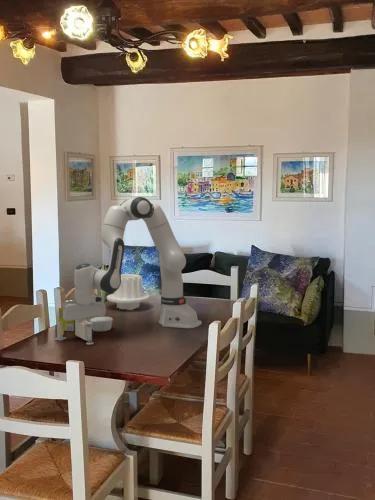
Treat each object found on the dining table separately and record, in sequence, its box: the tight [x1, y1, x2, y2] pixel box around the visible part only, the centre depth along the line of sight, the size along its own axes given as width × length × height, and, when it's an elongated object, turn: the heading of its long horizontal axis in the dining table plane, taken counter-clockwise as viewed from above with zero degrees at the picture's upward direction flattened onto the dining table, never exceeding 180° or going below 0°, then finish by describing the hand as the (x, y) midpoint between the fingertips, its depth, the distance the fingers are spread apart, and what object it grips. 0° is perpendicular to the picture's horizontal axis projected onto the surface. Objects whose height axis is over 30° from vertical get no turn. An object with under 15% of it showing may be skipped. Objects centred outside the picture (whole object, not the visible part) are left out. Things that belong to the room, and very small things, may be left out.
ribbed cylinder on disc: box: [106, 273, 151, 311], centre depth 320 cm, size 25×25×19 cm
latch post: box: [53, 321, 67, 341], centre depth 255 cm, size 5×4×8 cm
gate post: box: [85, 325, 94, 346], centre depth 248 cm, size 3×3×8 cm
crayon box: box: [58, 307, 75, 332], centre depth 270 cm, size 7×3×12 cm, turn 86°
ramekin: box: [90, 316, 114, 332], centre depth 273 cm, size 11×11×5 cm
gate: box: [74, 320, 93, 342], centre depth 252 cm, size 16×3×9 cm, turn 36°
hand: (84, 327), depth 258 cm, fingers closed
